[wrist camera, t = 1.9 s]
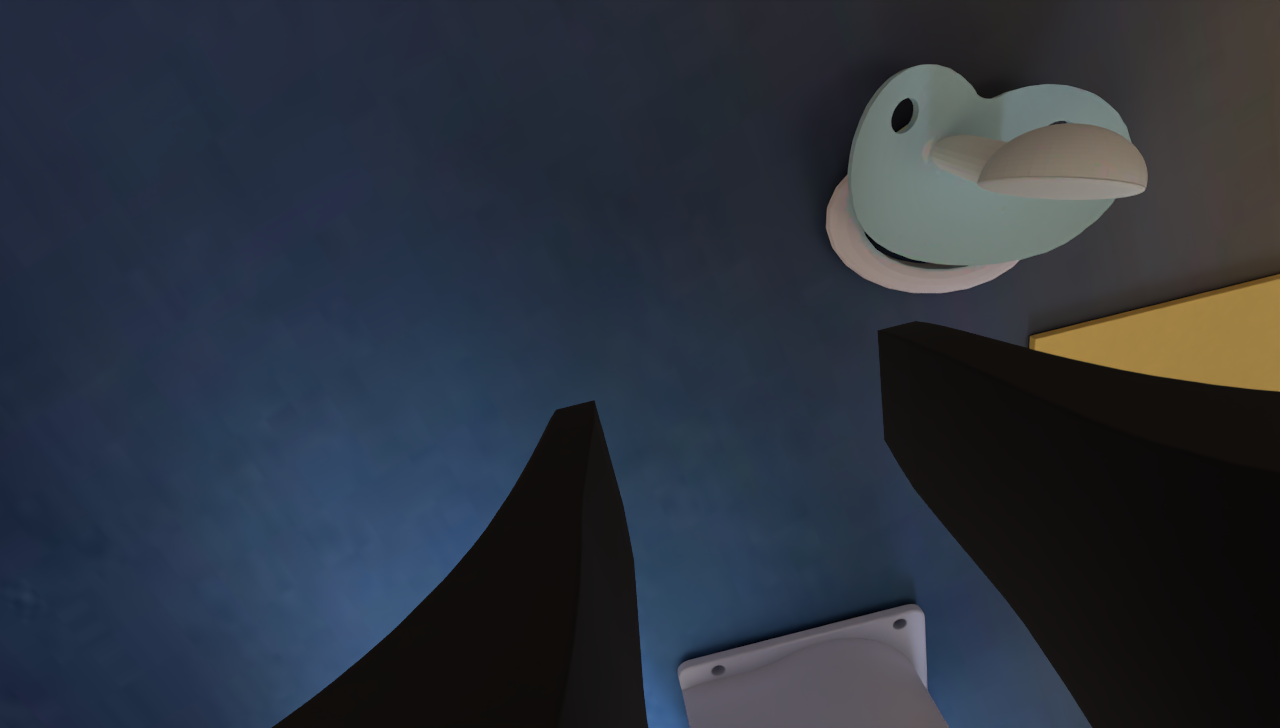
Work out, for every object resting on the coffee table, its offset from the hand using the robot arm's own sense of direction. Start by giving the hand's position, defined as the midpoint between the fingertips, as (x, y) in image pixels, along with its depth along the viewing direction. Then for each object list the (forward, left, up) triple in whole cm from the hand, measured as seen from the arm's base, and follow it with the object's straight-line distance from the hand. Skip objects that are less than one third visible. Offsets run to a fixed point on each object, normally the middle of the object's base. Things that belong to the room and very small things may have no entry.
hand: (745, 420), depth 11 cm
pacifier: (+8, 0, -10) cm, 12 cm away
